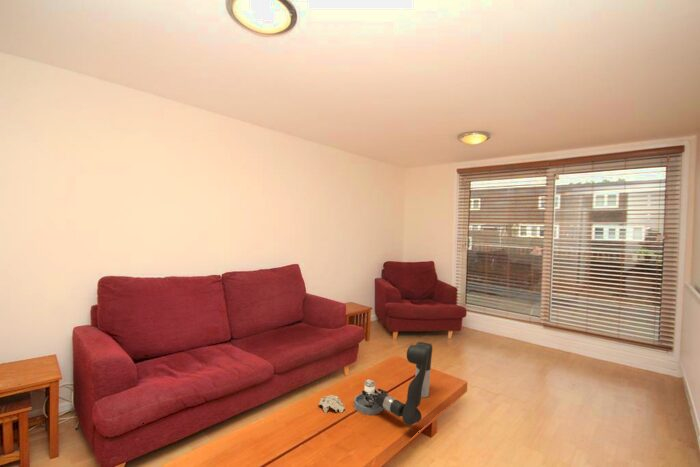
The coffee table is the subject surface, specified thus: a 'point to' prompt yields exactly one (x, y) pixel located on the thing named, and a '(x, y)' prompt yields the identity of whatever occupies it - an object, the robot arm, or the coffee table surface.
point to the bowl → (366, 406)
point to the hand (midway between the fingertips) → (366, 390)
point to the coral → (332, 403)
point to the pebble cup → (369, 390)
